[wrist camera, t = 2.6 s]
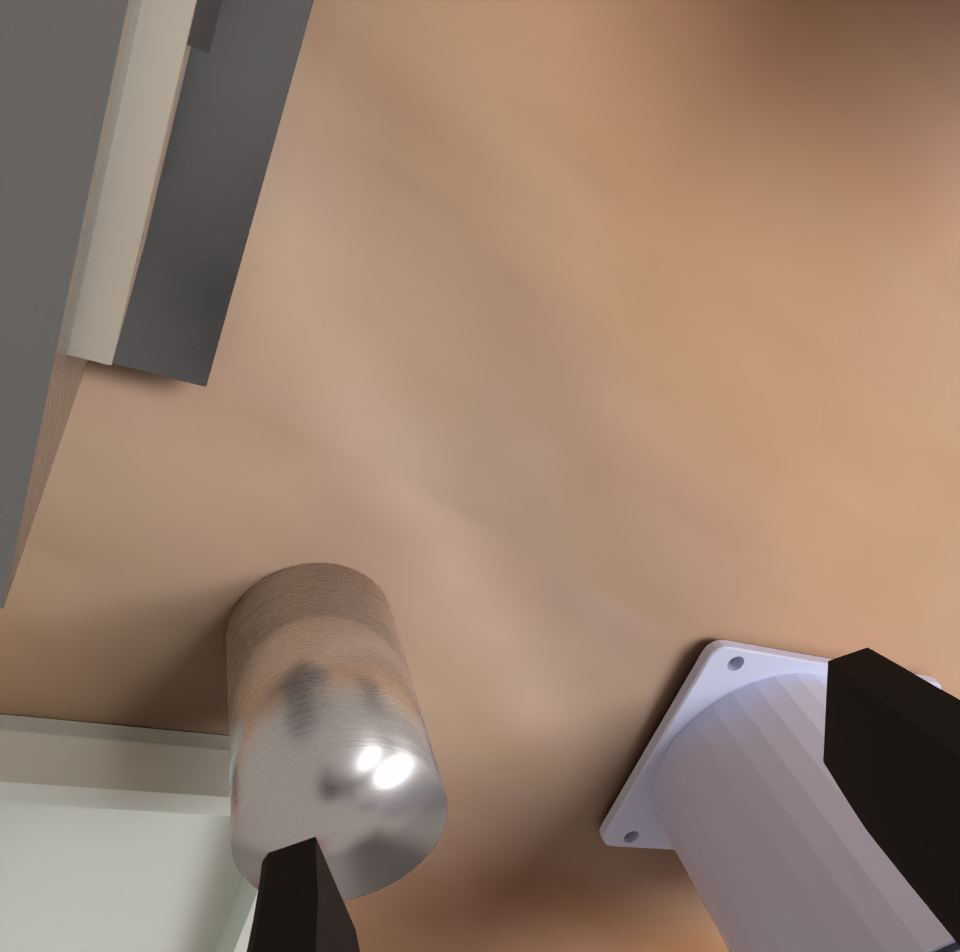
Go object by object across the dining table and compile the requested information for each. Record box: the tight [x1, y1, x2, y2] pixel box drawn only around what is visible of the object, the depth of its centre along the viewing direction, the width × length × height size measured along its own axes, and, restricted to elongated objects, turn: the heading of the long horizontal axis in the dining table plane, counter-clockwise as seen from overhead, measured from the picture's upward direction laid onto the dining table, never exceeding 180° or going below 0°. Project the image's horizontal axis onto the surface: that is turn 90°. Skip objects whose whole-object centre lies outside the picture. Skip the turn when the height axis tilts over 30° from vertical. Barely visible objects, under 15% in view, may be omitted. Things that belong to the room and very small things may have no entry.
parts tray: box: [0, 714, 258, 952], centre depth 22 cm, size 12×12×2 cm
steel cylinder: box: [226, 563, 447, 901], centre depth 19 cm, size 4×4×6 cm
